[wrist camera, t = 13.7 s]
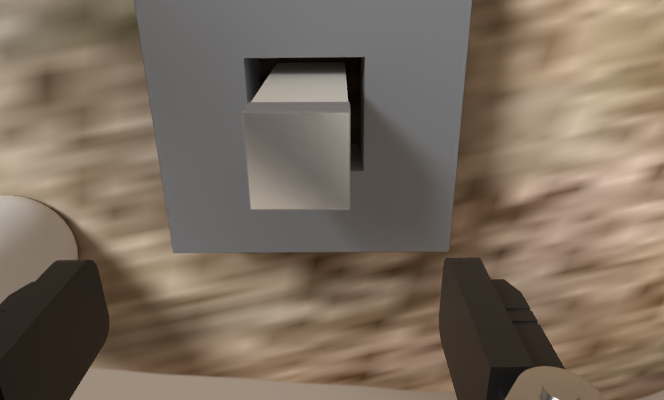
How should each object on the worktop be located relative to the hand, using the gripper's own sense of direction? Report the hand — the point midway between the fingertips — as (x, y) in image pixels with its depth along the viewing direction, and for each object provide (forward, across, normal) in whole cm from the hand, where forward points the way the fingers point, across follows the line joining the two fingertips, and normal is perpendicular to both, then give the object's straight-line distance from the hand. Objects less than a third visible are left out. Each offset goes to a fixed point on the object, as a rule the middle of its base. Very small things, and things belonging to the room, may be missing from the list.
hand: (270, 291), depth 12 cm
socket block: (+21, 0, 0) cm, 21 cm away
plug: (+21, 0, 0) cm, 21 cm away
